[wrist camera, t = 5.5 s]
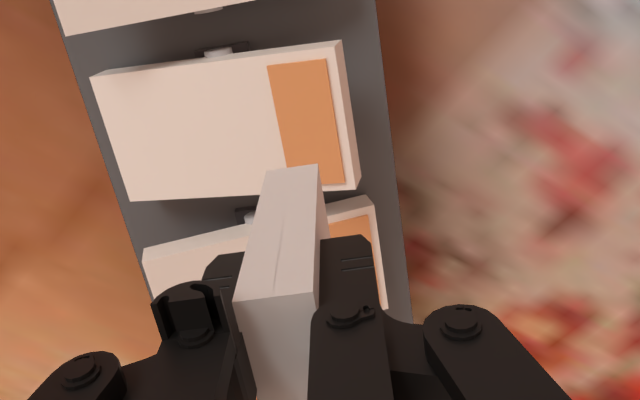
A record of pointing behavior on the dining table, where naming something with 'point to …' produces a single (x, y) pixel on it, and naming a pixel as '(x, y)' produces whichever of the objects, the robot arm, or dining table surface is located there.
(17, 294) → the dining table surface
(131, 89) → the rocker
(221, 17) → the power strip
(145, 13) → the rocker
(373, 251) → the rocker
